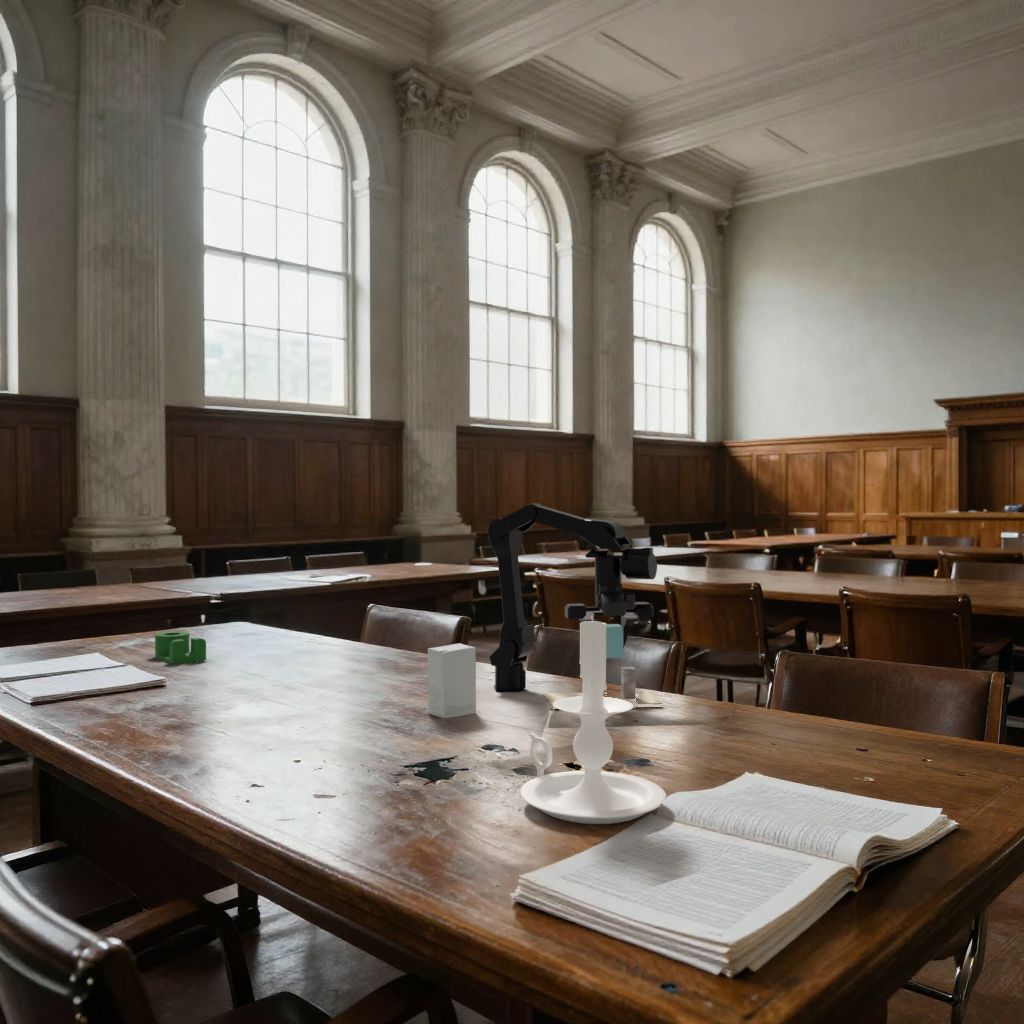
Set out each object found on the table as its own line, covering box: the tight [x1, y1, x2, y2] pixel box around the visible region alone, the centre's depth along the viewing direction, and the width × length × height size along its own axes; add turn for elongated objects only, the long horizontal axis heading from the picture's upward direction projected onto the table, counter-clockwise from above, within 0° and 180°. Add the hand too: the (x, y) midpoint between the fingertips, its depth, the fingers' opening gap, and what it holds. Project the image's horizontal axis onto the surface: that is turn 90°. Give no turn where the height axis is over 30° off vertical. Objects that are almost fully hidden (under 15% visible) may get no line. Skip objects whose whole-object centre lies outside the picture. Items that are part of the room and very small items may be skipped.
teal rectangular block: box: [606, 623, 625, 659], centre depth 202 cm, size 5×5×7 cm
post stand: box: [542, 666, 663, 707], centre depth 202 cm, size 24×12×8 cm, turn 96°
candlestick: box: [519, 616, 668, 825], centre depth 133 cm, size 21×25×28 cm
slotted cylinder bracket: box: [154, 631, 207, 666], centre depth 256 cm, size 18×9×6 cm, turn 39°
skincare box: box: [427, 642, 477, 719], centre depth 186 cm, size 8×6×15 cm
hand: (609, 650), depth 202 cm, fingers closed on teal rectangular block, 5 cm apart
